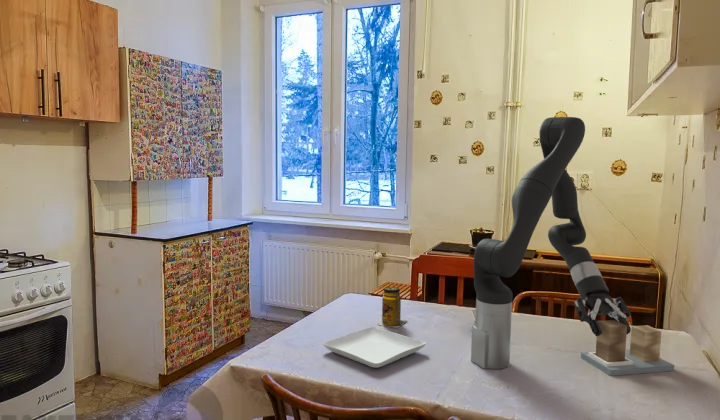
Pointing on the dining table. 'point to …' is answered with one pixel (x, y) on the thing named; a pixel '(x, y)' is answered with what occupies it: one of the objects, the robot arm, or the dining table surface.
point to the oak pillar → (645, 343)
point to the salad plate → (374, 346)
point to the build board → (627, 364)
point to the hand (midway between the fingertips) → (613, 334)
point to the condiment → (391, 308)
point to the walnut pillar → (611, 341)
